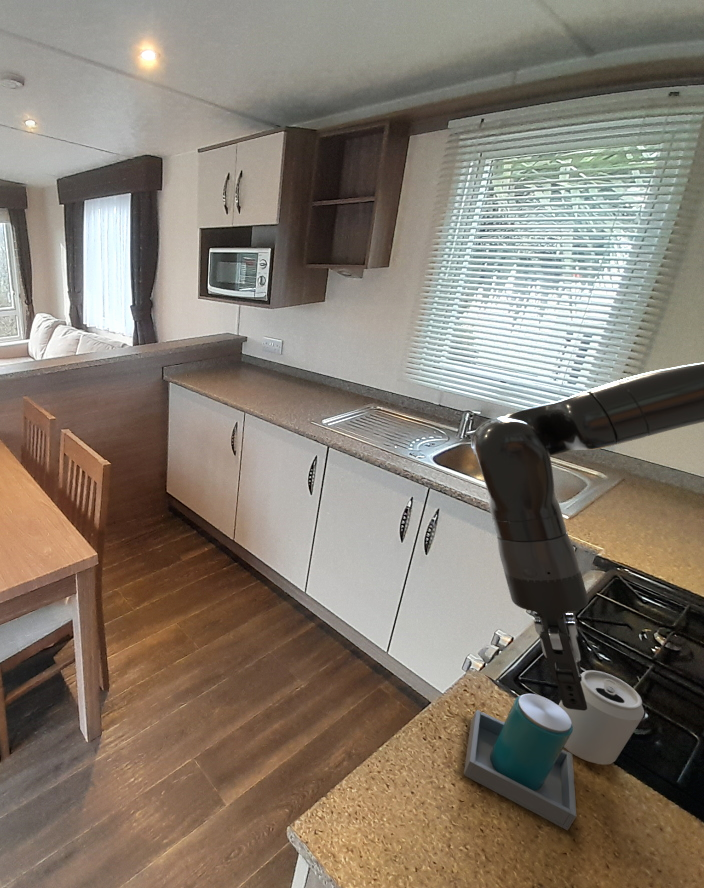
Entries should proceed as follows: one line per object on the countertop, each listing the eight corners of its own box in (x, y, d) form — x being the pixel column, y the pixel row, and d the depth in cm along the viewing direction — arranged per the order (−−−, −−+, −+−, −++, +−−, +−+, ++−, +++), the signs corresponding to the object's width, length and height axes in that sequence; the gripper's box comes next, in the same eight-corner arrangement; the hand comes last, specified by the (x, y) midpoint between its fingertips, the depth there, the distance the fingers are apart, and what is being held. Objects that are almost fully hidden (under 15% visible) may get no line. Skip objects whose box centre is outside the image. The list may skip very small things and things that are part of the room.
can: (545, 745, 72) (575, 689, 67) (548, 711, 77) (576, 656, 72) (614, 779, 67) (651, 722, 62) (613, 741, 72) (647, 685, 67)
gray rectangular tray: (564, 767, 69) (572, 753, 68) (567, 830, 62) (576, 816, 60) (470, 722, 75) (476, 709, 74) (463, 775, 68) (469, 761, 67)
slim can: (542, 765, 69) (573, 708, 64) (543, 800, 64) (576, 742, 60) (491, 740, 72) (516, 684, 67) (488, 772, 68) (515, 714, 63)
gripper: (584, 588, 54) (623, 728, 54) (575, 548, 65) (607, 665, 64) (501, 588, 59) (535, 716, 59) (505, 551, 70) (534, 659, 69)
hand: (573, 689), depth 61 cm, fingers open, 8 cm apart
